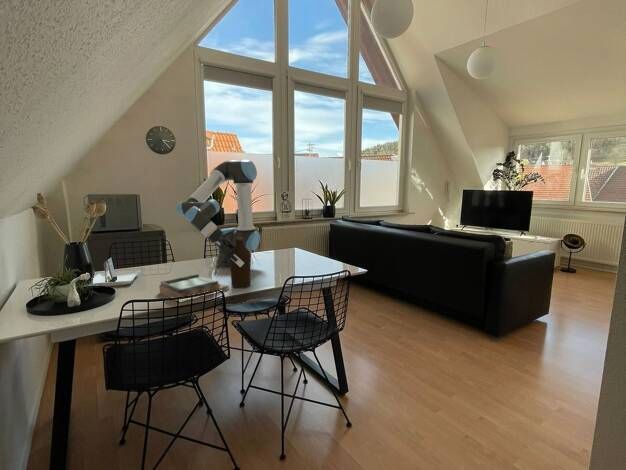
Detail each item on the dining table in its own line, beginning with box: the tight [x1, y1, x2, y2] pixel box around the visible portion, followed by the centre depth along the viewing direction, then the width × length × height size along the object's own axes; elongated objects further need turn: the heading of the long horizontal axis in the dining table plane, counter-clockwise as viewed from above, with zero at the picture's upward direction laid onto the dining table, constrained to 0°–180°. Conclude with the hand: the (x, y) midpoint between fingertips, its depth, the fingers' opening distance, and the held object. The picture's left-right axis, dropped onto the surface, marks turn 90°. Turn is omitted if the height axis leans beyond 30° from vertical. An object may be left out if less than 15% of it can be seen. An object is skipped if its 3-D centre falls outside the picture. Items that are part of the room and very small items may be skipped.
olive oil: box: [229, 237, 252, 289], centre depth 172 cm, size 11×11×25 cm
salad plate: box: [92, 269, 141, 287], centre depth 181 cm, size 21×21×3 cm
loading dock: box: [158, 273, 230, 298], centre depth 165 cm, size 25×20×6 cm
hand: (244, 261), depth 172 cm, fingers open, 13 cm apart
